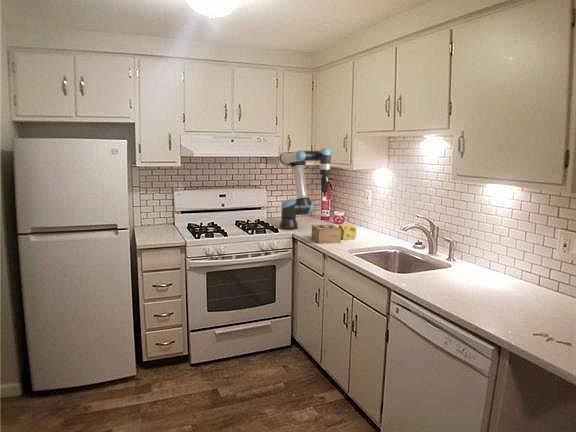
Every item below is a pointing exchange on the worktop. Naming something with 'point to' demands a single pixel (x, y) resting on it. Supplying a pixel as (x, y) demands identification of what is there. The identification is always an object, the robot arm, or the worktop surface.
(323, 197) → the robot arm
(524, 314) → the worktop surface
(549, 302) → the worktop surface
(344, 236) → the cheese
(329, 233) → the socket block
